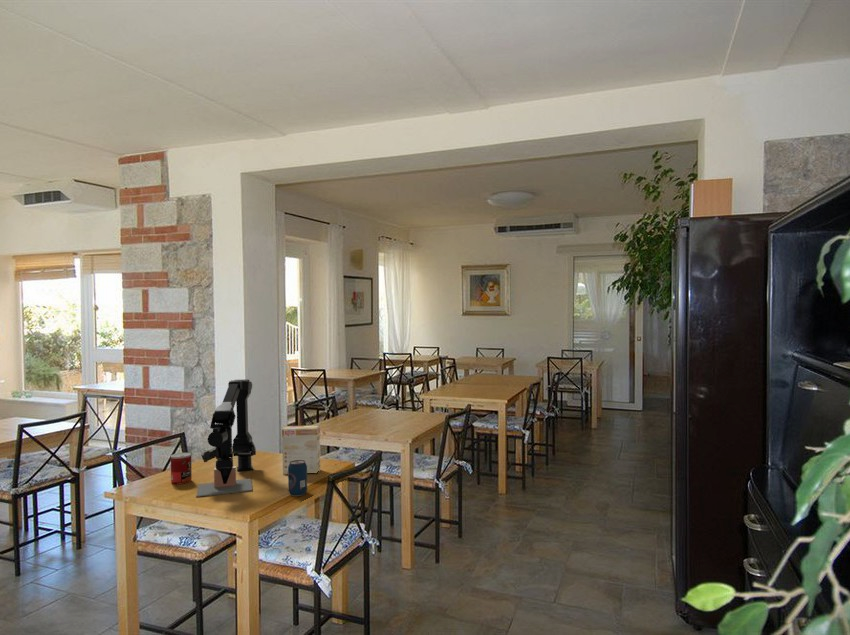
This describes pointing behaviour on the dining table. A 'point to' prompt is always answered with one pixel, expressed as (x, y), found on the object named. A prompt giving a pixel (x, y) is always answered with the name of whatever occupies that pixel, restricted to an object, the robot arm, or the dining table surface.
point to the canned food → (181, 468)
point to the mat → (224, 488)
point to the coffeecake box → (301, 446)
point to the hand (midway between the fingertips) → (225, 480)
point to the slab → (219, 482)
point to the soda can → (297, 478)
